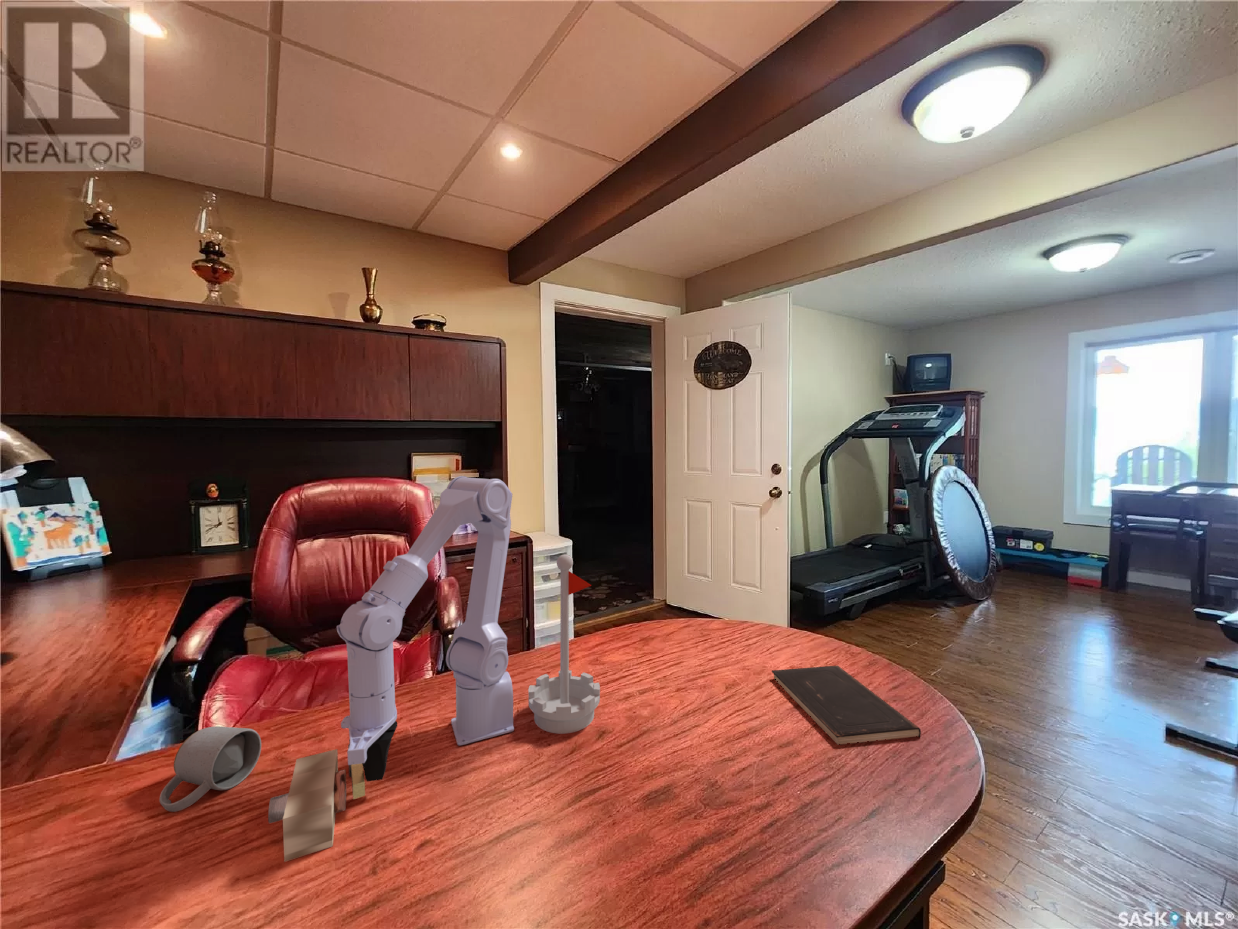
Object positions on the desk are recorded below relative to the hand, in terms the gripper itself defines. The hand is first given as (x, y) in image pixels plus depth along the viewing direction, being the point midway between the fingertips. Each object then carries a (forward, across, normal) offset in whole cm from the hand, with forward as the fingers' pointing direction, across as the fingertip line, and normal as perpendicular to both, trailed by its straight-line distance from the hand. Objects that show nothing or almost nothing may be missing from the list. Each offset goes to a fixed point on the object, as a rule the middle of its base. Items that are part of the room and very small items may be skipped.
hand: (375, 778), depth 69 cm
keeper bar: (+2, -1, -3) cm, 4 cm away
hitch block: (+2, +4, -7) cm, 8 cm away
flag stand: (+3, -15, +28) cm, 32 cm away
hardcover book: (+4, -9, +80) cm, 81 cm away
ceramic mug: (+2, -6, -24) cm, 25 cm away
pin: (+2, +4, -7) cm, 8 cm away
